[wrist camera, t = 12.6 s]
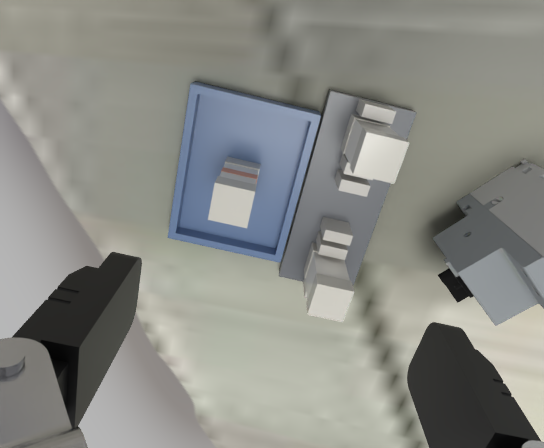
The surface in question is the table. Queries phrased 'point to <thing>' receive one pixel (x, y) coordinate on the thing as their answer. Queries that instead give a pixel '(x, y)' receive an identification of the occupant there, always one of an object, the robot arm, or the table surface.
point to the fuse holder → (339, 190)
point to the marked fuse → (234, 192)
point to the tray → (246, 146)
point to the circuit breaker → (499, 244)
